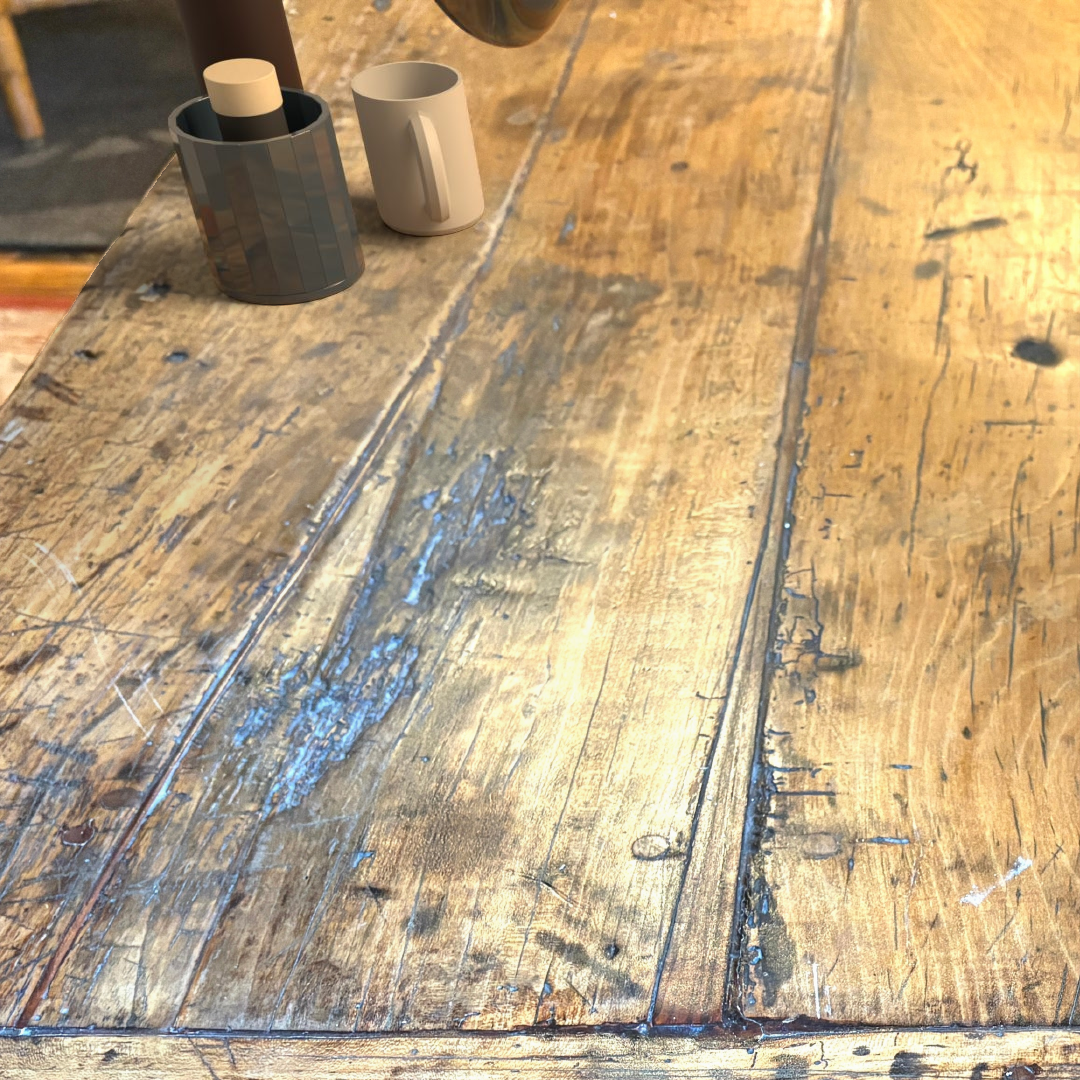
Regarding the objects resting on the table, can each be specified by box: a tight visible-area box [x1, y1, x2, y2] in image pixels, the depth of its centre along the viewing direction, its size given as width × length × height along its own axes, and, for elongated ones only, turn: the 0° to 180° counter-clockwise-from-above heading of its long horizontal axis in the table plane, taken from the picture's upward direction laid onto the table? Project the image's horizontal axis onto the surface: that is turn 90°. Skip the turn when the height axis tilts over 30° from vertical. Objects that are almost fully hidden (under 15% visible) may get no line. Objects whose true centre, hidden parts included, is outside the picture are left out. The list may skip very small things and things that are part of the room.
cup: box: [350, 60, 486, 237], centre depth 122 cm, size 7×10×9 cm
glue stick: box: [203, 59, 289, 142], centre depth 115 cm, size 4×4×12 cm
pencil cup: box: [167, 87, 366, 305], centre depth 116 cm, size 10×10×10 cm
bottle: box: [174, 0, 305, 96], centre depth 123 cm, size 7×7×20 cm
